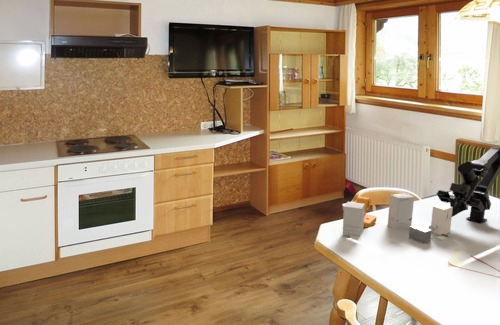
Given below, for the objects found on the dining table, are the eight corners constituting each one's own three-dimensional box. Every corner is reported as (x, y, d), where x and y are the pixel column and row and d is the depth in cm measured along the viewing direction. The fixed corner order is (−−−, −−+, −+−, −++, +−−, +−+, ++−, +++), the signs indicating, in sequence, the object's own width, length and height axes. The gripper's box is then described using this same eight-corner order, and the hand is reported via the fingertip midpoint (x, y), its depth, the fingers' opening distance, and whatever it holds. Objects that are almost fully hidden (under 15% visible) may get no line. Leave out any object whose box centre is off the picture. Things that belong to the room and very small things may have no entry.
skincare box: (395, 232, 186) (397, 198, 183) (386, 227, 192) (389, 194, 188) (411, 230, 188) (415, 196, 185) (403, 225, 194) (405, 192, 191)
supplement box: (363, 232, 186) (365, 203, 183) (359, 238, 179) (361, 208, 176) (346, 229, 189) (347, 201, 186) (341, 235, 182) (343, 206, 179)
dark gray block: (414, 236, 179) (415, 224, 178) (430, 241, 174) (431, 229, 172) (408, 238, 177) (409, 226, 176) (424, 244, 171) (425, 232, 170)
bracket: (368, 229, 189) (370, 202, 186) (352, 226, 193) (354, 199, 190) (376, 222, 198) (378, 196, 195) (360, 218, 202) (362, 193, 199)
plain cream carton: (438, 228, 187) (441, 203, 184) (455, 234, 181) (458, 208, 178) (425, 233, 181) (427, 207, 179) (442, 239, 175) (445, 213, 173)
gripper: (441, 171, 192) (423, 200, 188) (484, 181, 177) (465, 212, 173) (449, 186, 198) (432, 214, 194) (491, 196, 183) (474, 227, 179)
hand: (450, 216), depth 185 cm, fingers closed
